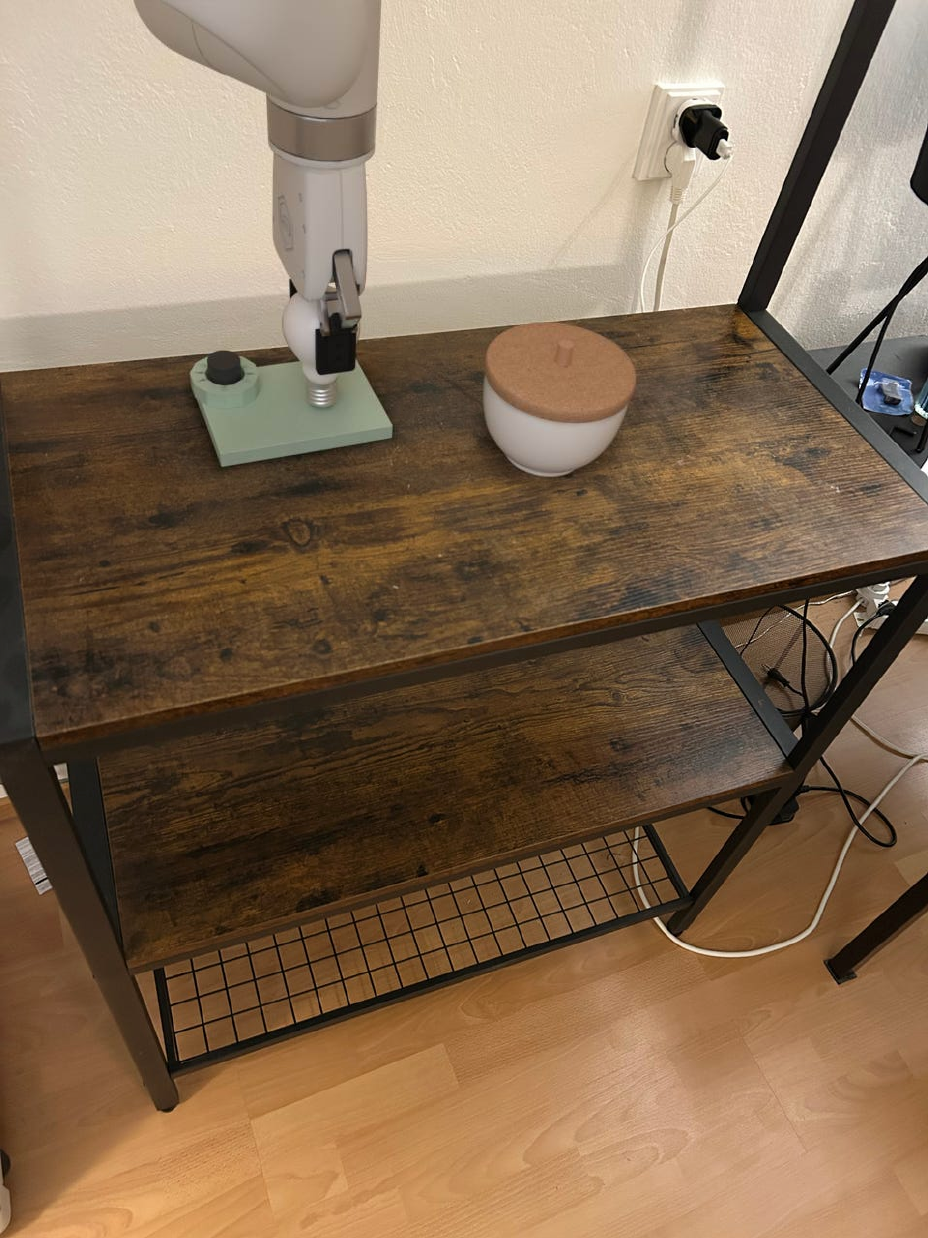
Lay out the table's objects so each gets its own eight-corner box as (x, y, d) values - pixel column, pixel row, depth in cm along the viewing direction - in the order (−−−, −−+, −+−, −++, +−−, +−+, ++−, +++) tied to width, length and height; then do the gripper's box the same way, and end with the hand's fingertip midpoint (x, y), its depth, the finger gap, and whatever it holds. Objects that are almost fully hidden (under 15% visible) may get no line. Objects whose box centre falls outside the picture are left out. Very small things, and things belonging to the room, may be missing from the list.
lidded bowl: (454, 414, 88) (468, 306, 80) (580, 400, 92) (606, 295, 84) (499, 507, 81) (520, 398, 73) (635, 488, 85) (669, 382, 76)
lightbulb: (318, 373, 88) (317, 260, 80) (372, 403, 86) (377, 290, 78) (269, 404, 84) (263, 289, 76) (325, 436, 82) (325, 322, 74)
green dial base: (217, 467, 80) (214, 439, 78) (188, 387, 87) (184, 358, 85) (392, 438, 85) (393, 410, 83) (351, 364, 92) (352, 336, 90)
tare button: (212, 388, 83) (210, 371, 82) (205, 369, 85) (203, 352, 83) (245, 383, 84) (243, 366, 82) (237, 365, 85) (236, 348, 84)
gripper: (237, 75, 71) (251, 294, 85) (304, 186, 61) (308, 415, 75) (336, 71, 74) (334, 285, 87) (416, 177, 64) (399, 401, 77)
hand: (322, 343), depth 81 cm, fingers open, 6 cm apart
